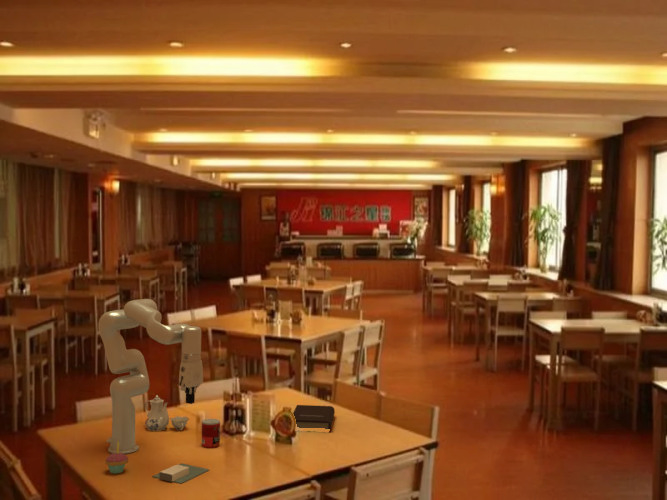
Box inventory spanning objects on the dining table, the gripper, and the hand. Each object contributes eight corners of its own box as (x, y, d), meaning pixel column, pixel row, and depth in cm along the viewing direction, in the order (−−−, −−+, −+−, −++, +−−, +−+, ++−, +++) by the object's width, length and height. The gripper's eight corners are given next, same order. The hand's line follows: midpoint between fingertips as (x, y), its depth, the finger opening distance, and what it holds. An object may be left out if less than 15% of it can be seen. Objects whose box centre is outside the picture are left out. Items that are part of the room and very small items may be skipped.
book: (330, 433, 334) (330, 421, 334) (289, 432, 335) (290, 419, 335) (334, 417, 362) (334, 406, 362) (296, 416, 363) (297, 404, 363)
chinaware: (194, 432, 336) (197, 397, 337) (168, 437, 322) (171, 400, 323) (154, 422, 351) (157, 388, 352) (127, 426, 338) (130, 391, 338)
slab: (176, 471, 277) (159, 478, 268) (176, 464, 277) (159, 472, 268) (188, 473, 274) (171, 481, 265) (188, 467, 274) (171, 475, 265)
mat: (152, 477, 271) (152, 476, 271) (181, 464, 286) (181, 463, 286) (181, 483, 265) (181, 482, 264) (209, 470, 280) (209, 469, 280)
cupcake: (108, 467, 280) (108, 438, 280) (130, 467, 281) (130, 437, 280) (103, 475, 272) (103, 444, 271) (125, 475, 272) (125, 444, 272)
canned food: (216, 449, 306) (216, 423, 306) (198, 447, 308) (199, 422, 308) (222, 443, 314) (222, 419, 314) (205, 442, 316) (205, 417, 315)
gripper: (186, 361, 273) (185, 408, 274) (210, 355, 286) (209, 400, 287) (171, 359, 276) (170, 405, 277) (195, 353, 290) (194, 397, 290)
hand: (190, 402), depth 282 cm, fingers closed
